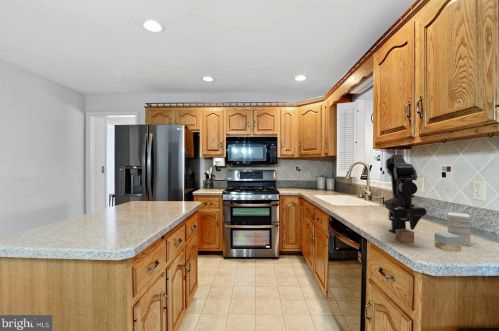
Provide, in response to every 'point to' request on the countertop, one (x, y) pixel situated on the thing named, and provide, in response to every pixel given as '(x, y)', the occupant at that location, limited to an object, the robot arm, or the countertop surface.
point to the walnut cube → (404, 236)
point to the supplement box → (460, 227)
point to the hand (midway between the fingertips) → (404, 226)
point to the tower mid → (447, 238)
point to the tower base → (448, 246)
